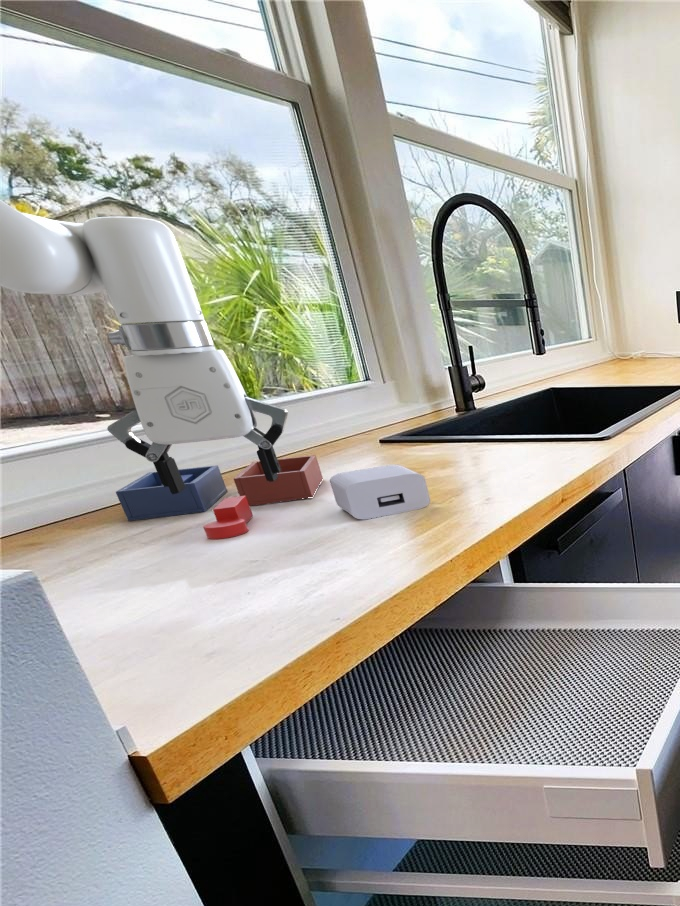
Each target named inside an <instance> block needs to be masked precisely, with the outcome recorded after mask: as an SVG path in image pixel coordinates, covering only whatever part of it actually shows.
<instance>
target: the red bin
mask: <svg viewBox="0 0 680 906" xmlns="http://www.w3.org/2000/svg"><path fill="white" fill-rule="evenodd" d="M277 460H278V463H279V465H280V469H281V472H280V473H277V475H278V478H277V479H276V480H275V481H272V482H269V481H267V480H266V477H265V474H264V471H263V469H262V466H261V463H260V460H256V461H252V462H251V463H249V464H248V465H247V466H246V467H245V468H244V469H242V470H241V472H239V473H238V474H237V475H236V476H234V477H233V482H234V485H235V487H236V490H237V493H238V495H239V496H246V499H247V501H248V504H249V507H253V506H252V505H255V506H261V505H260V504H263V505H268V504H267V503H271V504H275V503H274V502H279V503H281V502H280V501H287V502H290V501H289V500H295V499H302V498H308V497H313V495H314V493H315V491H316V489H317V488H318V486H319V484H320V482H321V481H322V479H323V480H324V477H323V474H322V471H321V468H320V465H319V461H318V458H317V455H315V454H314V455H305V456H295V457H285V458H277ZM318 489H319V488H318ZM314 496H315V495H314ZM313 498H314V497H313ZM295 501H296V500H295Z"/></svg>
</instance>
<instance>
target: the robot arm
mask: <svg viewBox="0 0 680 906" xmlns="http://www.w3.org/2000/svg"><path fill="white" fill-rule="evenodd" d="M0 287H1V288H5V289H8V290H11V291H13V292H17V293H24V294H34V295H53V296H69V297H71V296H73V297H74V296H77V297H78V296H87V295H93V294H94V295H95V294H98V293H104V292H105V293H106V294H107V296H108V299H109V301H110V304H111V306H112V308H113V311H114V313H115V317H116V318H117V321H118V323H119V325H118V330H117V329H116V330H115V331H108V332H107V337H108V340H109V342H110V343H111V344H112V345H113V346H115V345H116V346H117V345H121V346H124V347H125V348H127V350H128V351H131V352H130V353H131V354H132V355H123V357H122V358H123V364H124V370H125V375H126V378H127V383H128V386H129V391H130V393H131V396H132V400H133V403H134V406H135V409H134V410H132V411H130V412H129V413H127V414H125V415H124V416H122V417H121V418H119V419H117V420H115V421H114V422H113V423H111V424H109V425H108V426H107V428H106V430H107V432H108V433H110V435H112V436H113V437H115V438H116V439H117V440H118V441H119V442H120V443H122V444H123V445H124V446H125V448H126V449H128V450H129V451H131V452H134V453H135V454H137V455H139V456H142V457H143V458H145V459H146V460H147V461H149V462H151V463H153V466H154V468H155V472H157V473H158V475H159V478H160V480H161V482H162V484H163V486H164V487H169V489H170V491H171V493H172V494H178V493H180V492H181V491H182V490H184V489H185V488H186V487H185V484H184V482H183V479H182V477H181V474H180V472H179V470H178V469H179V467H178V464H177V462H176V460H175V458H173V457H172V456H169V454H168V453H169V451H170V449H171V447H172V446H173V445H179V444H190V443H198V442H208V441H218V440H226V439H234V438H240V437H244V438H245V439H247V440H249V441H250V442H252V443H253V444H255V445H256V446H257V449H258V450H257V451H256V455H257V458H258V461H260V463H261V466H262V469H263V471H264V474H265V477H266V480H267V481H269V482H272V481H275V480H276V479H277V478H278V475H277V473H280V472H281V469H280V465H279V463H278V460H277V459H278V457H277V454H276V452H275V449H274V448H275V447H274V445H275V444H276V442H277V441H278V440H279V438H280V437H281V435H282V434H283V433H284V431H285V426H286V423H287V418H288V415H289V411H288V410H287V409H286V408H284V407H280V406H277V405H274V404H272V403H268V402H265V401H261V400H258V399H255V398H251V397H249V396H248V395H247V393H246V391H245V389H244V387H243V385H242V383H241V381H240V378H239V377H238V375H237V372H236V370H235V369H234V367H233V365H232V363H231V361H230V359H229V358H228V357H227V354H226V352H225V351H224V350H223V349H216V346H215V344H214V341H213V338H212V336H211V332H210V330H209V327H208V324H207V322H206V319H205V316H204V314H203V311H202V308H201V305H200V303H199V299H198V297H197V294H196V292H195V289H194V286H193V283H192V281H191V278H190V276H189V273H188V270H187V267H186V263H185V261H184V259H183V256H182V253H181V251H180V248H179V245H178V242H177V240H176V237H175V235H174V233H173V232H172V230H171V229H170V227H168V226H167V225H166V224H164V222H161V221H159V220H157V219H152V218H146V217H137V216H99V217H92V218H89V219H87V220H86V221H84V223H81V222H69V221H62V220H55V219H50V218H47V217H43V216H39V215H34V214H29V213H26V212H21V211H19V210H18V209H16V208H14V207H12V206H11V205H10V204H8V203H6V202H5V201H3V200H2V199H0ZM255 412H256V413H259V414H262V415H267V416H268V417H271V425H270V427H269V428H268V430H267V431H266V432H265V431H263V430H262V429H260V428H258V427H257V426H258V422H257V418H256V415H255ZM138 424H141V426H142V429H143V431H144V433H145V436H146V438H148V440H149V441H150V442H152V443H148V442H146V441H144V440H143V439H141V438H138V437H137V436H136V435H135V434H134V433H133V432H132V428H133V427H135V426H137V425H138Z"/></svg>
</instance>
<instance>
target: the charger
mask: <svg viewBox="0 0 680 906" xmlns="http://www.w3.org/2000/svg"><path fill="white" fill-rule="evenodd" d="M329 484H330V487H331V491H332V494H333V496H334V501H335V504H336V505H337V506H338V507H340V508H341V509H342V510H343V511H345V512H346V513H348V514H349V515H351V516H352V517H353V518H355V519H356V520H357V519H358V520H372V519H376V517H377V518H382V517H386V515H387V516H392V515H396V514H402V513H406V512H411V511H416V510H421V509H424V508H426V507H427V506H428V505H430V504H431V497H430V493H429V489H428V485H427V481H426V478H425V476H424V475H423V474H421V473H418V472H417V471H414V470H412V469H409V468H408V467H405V466H403V465H401V464H400V465H399V464H388V465H381V466H376V467H375V466H374V467H369V468H362V469H356V470H350V471H344V472H343V471H342V472H339V473H336V474H334V475H332V476H331V477H330V478H329ZM381 516H382V517H381ZM371 518H372V519H371Z"/></svg>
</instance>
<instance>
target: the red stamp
mask: <svg viewBox="0 0 680 906" xmlns="http://www.w3.org/2000/svg"><path fill="white" fill-rule="evenodd" d="M212 511H213V514H214V516H215V519H216V521H211V522H208V523H207V524H204V525H203V530H204V533H205V535H206V537H207V538H208V539H211V540H220V539H228V538H234V537H238V536H241V535H243V534H246V533H247V532H248V531H249V528H248V525H247V524H248V523H249V521H250V520H252V518H253V516H254V515H253V512H252V510H251V506H249V504H248V501H247V499H246V496H230V497H224V498H223V499H222V501H220V502H219V503H218V504H217V505H216V506H215V507H214V508H213V509H212ZM251 517H252V518H251Z"/></svg>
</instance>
